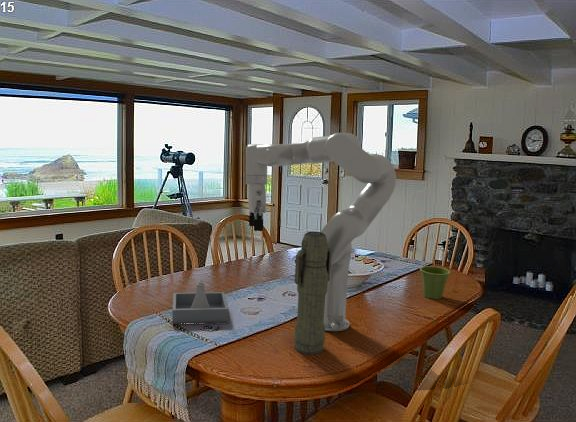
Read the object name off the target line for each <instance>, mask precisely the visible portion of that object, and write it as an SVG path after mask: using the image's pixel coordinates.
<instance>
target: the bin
mask: <svg viewBox="0 0 576 422" xmlns="http://www.w3.org/2000/svg"><path fill="white" fill-rule="evenodd" d="M172 295H173V296H172V317H171V318H172V324H181V323H182V324H184V323H185V324H186V323H194V324H193V325H200V324H199V323H205V324H204V325H212V324H211V323H226V324H229V310H230V309H229V305H228V300H227V297H226V295H225V292H224V291H222V292H221V291H220V292H216V291H215V292H209V291H208V292H207V291H205V295H206V298H207V301H208V304H209V307H210V308H201V309H191V307H192V304H193V301H194V299H195V296H196V292H173V293H172ZM195 323H196V324H195ZM197 323H198V324H197ZM206 323H208V324H206ZM209 323H210V324H209ZM172 324H171V325H172Z"/></svg>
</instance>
